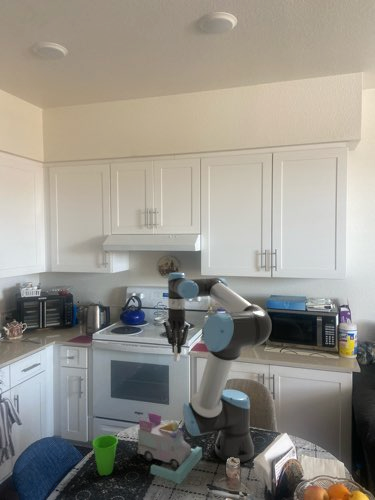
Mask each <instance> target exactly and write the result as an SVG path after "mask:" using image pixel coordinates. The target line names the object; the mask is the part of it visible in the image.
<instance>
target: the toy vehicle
mask: <svg viewBox="0 0 375 500" xmlns="http://www.w3.org/2000/svg"><path fill="white" fill-rule="evenodd" d="M147 415H148V420H144V419H138V425H139V428H138V431H137V435H138V436H137V438H138V439H137V440H138V441H137V442H138V443H137V444H138V445H137V448H138V449H137V452H136V453H137V454H140V455H143V459H144V458H145V459H146V461H149V462H151V461H152V460H153V459H155V460H159V461H162V462H165V463H168V464H169V463H170V466H171V467H172V469H175V470H177V469H178V468H179V467H180V466H181V465H182V463H183V462H184V461H185V460H186V459H187V458H188V456H189V455H190V454H191V448H192V446H191V445H190V444H189V443H188V442H186V441H185V437H184V434H183V431H184V428H183V427H179V424H178V423H177V422H170V423H168V424H166V425H165V424H161V423H162V415H161V414H160V415H159V414H156V413H152V412H147Z"/></svg>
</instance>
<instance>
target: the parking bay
mask: <svg viewBox="0 0 375 500" xmlns="http://www.w3.org/2000/svg"><path fill="white" fill-rule="evenodd" d="M202 448H203V447H200V446H196V447H195V448H192V447H191V454H190V455H189V456H188V458H187V459H186V460H185V461H184V462H183V463H182V465H181V466H180V467H179V468H178V469H175V471H174V470H172V469H169V468H166V467H164V466H163V467H162V466H159V465H156V464H152V465H151V466H150V474H151V475H154V476H157V477H160V478H163V479H166V480H168V481H173V482H174V483H175V484H178V485H180V484H182V482H183V481H184V479H185V478H186V477H187V476H188V475H189V474H190V472H191V471H192V470H193V469H194V467H195V466H196V464H197V463H199V461H200V459H202V457H203V449H202Z"/></svg>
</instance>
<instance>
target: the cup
mask: <svg viewBox="0 0 375 500" xmlns="http://www.w3.org/2000/svg"><path fill="white" fill-rule="evenodd" d="M118 443H119V440H118V438H117V436H115V435H113V434H103V435H100V436H97V437H95V438H94V439H93V440H92V443H91V445H92V446H93V452H94V456H95V457H94V458H95V463H96V468H97V473H98V474H99V475H100V476H103V475H105V476H109V475H110V474H112V473H113V471H114V466H115V465H114V464H115V458H116V451H117V445H118Z"/></svg>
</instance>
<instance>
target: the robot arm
mask: <svg viewBox="0 0 375 500" xmlns="http://www.w3.org/2000/svg"><path fill="white" fill-rule="evenodd" d="M167 279H168V280H167V291H168V294H167V295H168V297H167V298H168V299H167V301H168V303H167V305H168V306H167V307H168V311H167V313H168V314H167V315H168V318H167V320H166V321H164V322H162V323H163V326H164V330H165V333H166V338H167V343H168V344H169V345H171V346H172V348H171V349H172V350H171V351H172V354H173V362H178V361H180V360H181V355H180V354H182V346H185V345H186V342H187V338H188V334H189V329H190V327H191V324H190V323H188V322H187V319H186V300H192V299H195V298H201V297H210V298H211V299H212V300H214V301H215V302H216V303H217V304H219V306H221V307H222V308H223V309H225V311H227V312H219V313H215V314H211V315H210V316H209V317H208V318H207V319H206V320H205V323H204V325H203V331H202V332H203V337H202V338H203V343H204V345H205V347H206V348H207V351H208V352H209V353H208V354H207V359H206V363H205V366H204V370H203V373H202V376H201V381H200V384H199V387H198V390H197V392H195V393H194V394H193V395H192V397H191V399H190V402H188V401H187V402H185V403H184V404H183V405H182V416H183V422H184V425H185V428H186V431H187V432H188V433H189V435H190V436H192V437H196V436H203V435H207V434H212V433H215V432H218V434H217V438H216V441H215V446H214V451H215V454H216V455H217V456H218V457H219V458H220V459H221V460H223V461H226V460H227V459H228V458H230V457H234V458H239V459H240V461H241V462H240V463H244V462H247V461H249V460H251V459H252V458H253V457H254V455H255V446H254V442H253V439H252V436H251V432H250V417H251V415H250V414H251V413H250V412H251V411H250V409H251V403H250V398H249V396H248V395H247V394H246V393H244V392H242V391H240V390H236V389H225V387H226V385H227V382H228V379H229V375H230V372H231V370H232V366H233V363H234V361H236V360H238V359H239V358H240V356H241V354H242V351H243V349H244V348H249V347H257V346H259V345H262V344H263V343H265V342H266V341H267V340H268V339H269V337H270V335H271V332H272V325H273V324H272V320H271V317H270V315H269V314H268V313H267V312H266V310H264V309H263V307H261V306H259V305H257V304H251V303H250V302H249V301H247V300H246V299H245V298H243V297H242V296H241V295H239V294H238V293H236V292H235V291H234V290H232V289H231V288H229V287H228V283H227V281H226V278H224V277H211V278H198V279H197V278H196V279H195V278H193V279H192V278H191V279H189V278H188V279H187V278H186V274H185V273H184V272H169V274H168V277H167Z"/></svg>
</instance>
